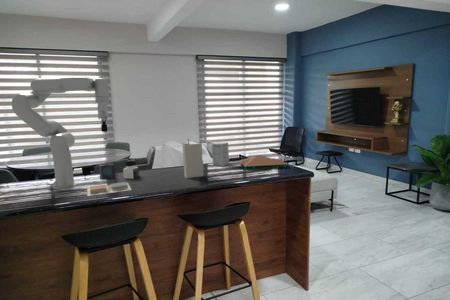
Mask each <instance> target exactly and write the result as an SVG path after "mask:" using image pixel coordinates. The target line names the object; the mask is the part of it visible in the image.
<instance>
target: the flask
mask: <svg viewBox="0 0 450 300" xmlns="http://www.w3.org/2000/svg"><path fill="white" fill-rule="evenodd" d="M98 171H99V172H98V173H99V179H100V180H104V179H106V180H107V179H114V178H115V177H116V175H115V165H114V163H108V161H106V162H104V164H101V165H98Z"/></svg>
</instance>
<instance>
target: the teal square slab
mask: <svg viewBox="0 0 450 300" xmlns="http://www.w3.org/2000/svg"><path fill="white" fill-rule="evenodd" d="M106 185H107V184H100V185H93V186H92V185H91V186H89V188H90V194H92V193H99V192H107V190H106Z"/></svg>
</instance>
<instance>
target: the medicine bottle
mask: <svg viewBox="0 0 450 300" xmlns="http://www.w3.org/2000/svg"><path fill="white" fill-rule="evenodd" d="M122 173H123V179H131V180H132V179H136V178H138V177H140V171H139V166H136V160H135V159H128V160H127V159H126V161H125V167H124V168H123V169H122Z"/></svg>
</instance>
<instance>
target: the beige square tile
mask: <svg viewBox="0 0 450 300" xmlns="http://www.w3.org/2000/svg"><path fill="white" fill-rule="evenodd" d="M127 183H128V182H127V181H123V182H122V181H121V182H117V183H115V182H114V183H111V184H110V185H111V187H112V191H114V190H121V189H128V185H127Z"/></svg>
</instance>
